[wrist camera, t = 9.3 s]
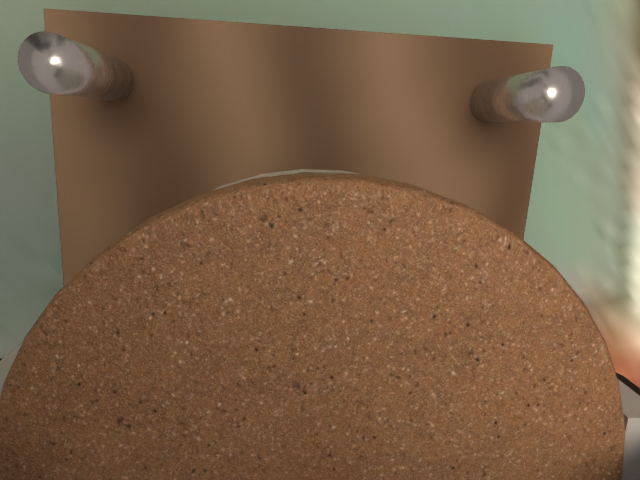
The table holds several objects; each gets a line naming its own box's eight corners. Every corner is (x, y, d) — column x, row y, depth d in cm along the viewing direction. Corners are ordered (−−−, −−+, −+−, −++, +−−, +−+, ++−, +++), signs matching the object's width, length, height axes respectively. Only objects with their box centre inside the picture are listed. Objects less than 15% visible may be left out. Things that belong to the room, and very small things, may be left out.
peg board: (89, 446, 23) (77, 468, 22) (62, 17, 19) (43, 8, 17) (476, 446, 25) (488, 466, 23) (534, 50, 20) (553, 44, 19)
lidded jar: (86, 188, 14) (-265, 307, 5) (445, 115, 14) (718, 105, 5) (182, 491, 17) (63, 927, 8) (484, 425, 17) (713, 772, 8)
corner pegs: (108, 439, 22) (58, 532, 17) (88, 54, 18) (15, 29, 13) (462, 440, 23) (510, 525, 18) (512, 81, 19) (589, 68, 14)
